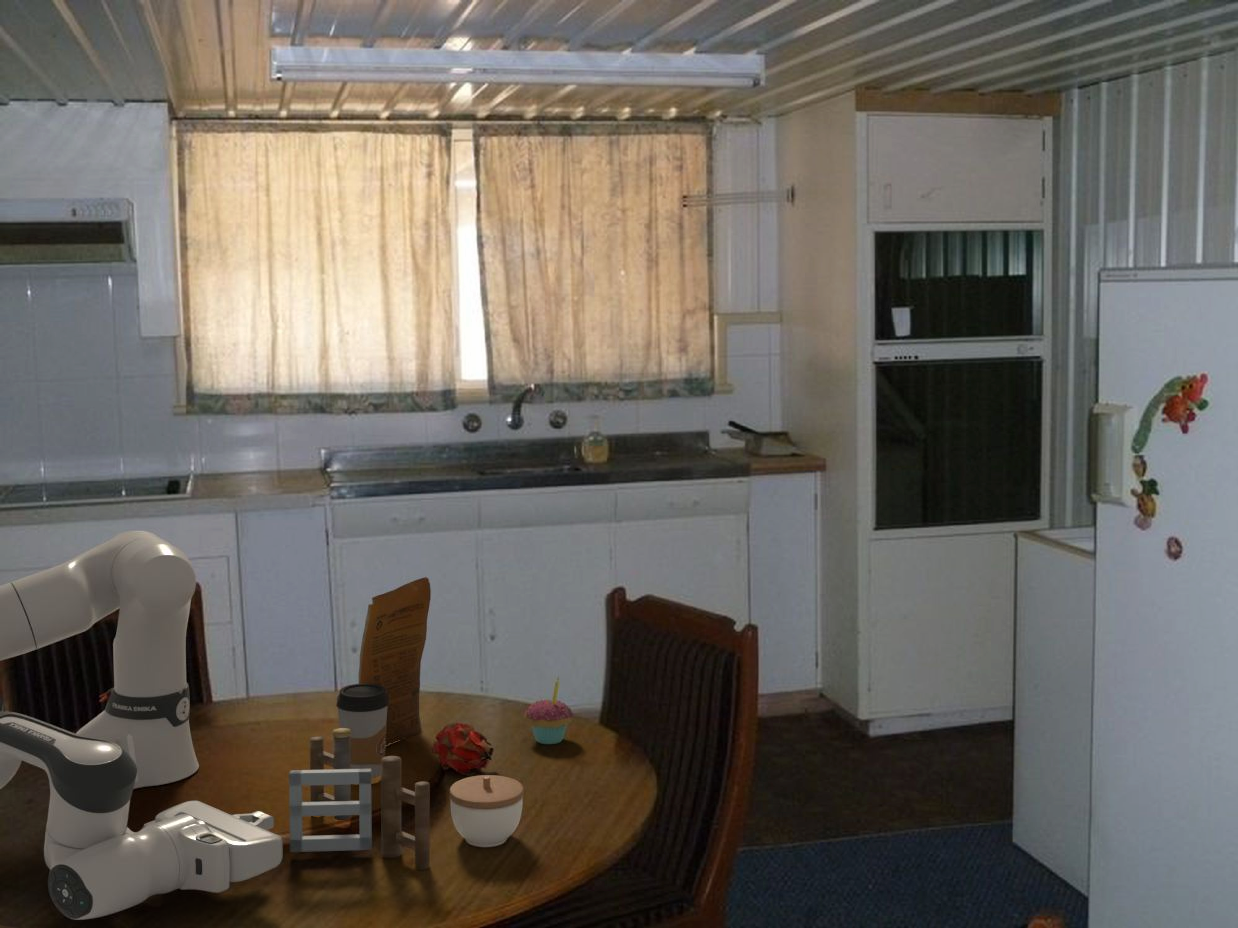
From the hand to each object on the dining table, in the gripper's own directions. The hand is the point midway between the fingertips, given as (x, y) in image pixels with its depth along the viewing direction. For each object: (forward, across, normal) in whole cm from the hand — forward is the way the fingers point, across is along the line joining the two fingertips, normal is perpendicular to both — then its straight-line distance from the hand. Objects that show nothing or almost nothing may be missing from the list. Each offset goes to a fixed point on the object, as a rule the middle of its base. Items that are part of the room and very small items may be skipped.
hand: (267, 818), depth 187 cm
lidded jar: (+27, +16, -7) cm, 32 cm away
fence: (+15, +3, -7) cm, 17 cm away
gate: (+8, +4, -6) cm, 11 cm away
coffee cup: (+30, -15, -7) cm, 35 cm away
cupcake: (+64, -5, -7) cm, 65 cm away
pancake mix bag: (+46, -26, -7) cm, 54 cm away
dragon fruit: (+44, -6, -7) cm, 45 cm away
